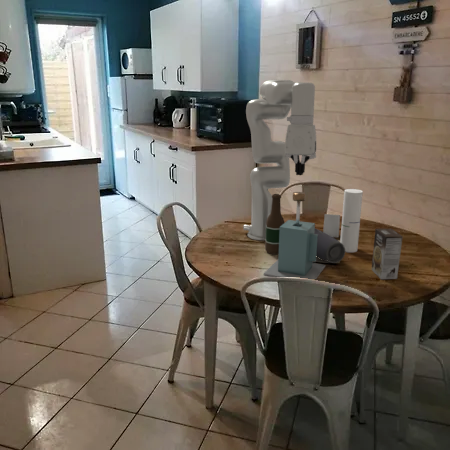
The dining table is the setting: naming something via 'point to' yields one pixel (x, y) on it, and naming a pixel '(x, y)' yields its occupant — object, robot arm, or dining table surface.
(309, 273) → the teal block
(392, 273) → the coffee box
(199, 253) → the dining table surface
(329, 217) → the light grey block
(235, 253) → the dining table surface
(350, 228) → the cylindrical container
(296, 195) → the shiny round knob
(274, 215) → the beer bottle
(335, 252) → the bluetooth speaker
